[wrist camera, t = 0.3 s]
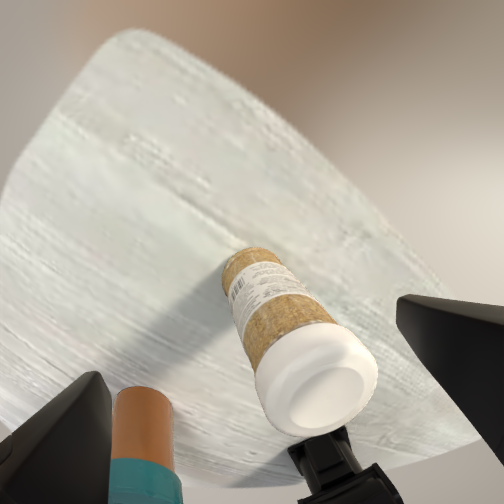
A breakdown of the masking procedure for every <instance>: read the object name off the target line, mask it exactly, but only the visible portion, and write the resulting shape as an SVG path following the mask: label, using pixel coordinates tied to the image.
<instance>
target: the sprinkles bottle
mask: <svg viewBox="0 0 504 504" xmlns="http://www.w3.org/2000/svg"><path fill="white" fill-rule="evenodd" d="M222 286H223V289H224V291H225V294H226V296H227V297H228V300H229V306H230V309H231V312H232V315H233V318H234V321H235V324H236V327H237V330H238V333H239V336H240V339H241V342H242V345H243V348H244V350H245V352H246V354H247V356H248V357H249V360H250V362H251V365H252V368H253V370H254V373H255V387H256V391H257V394H258V397H259V399H260V402H261V405H262V407H263V410H264V412H265V415H266V417H267V419H268V420H269V422H270V423H271V424H272V425H273V426H274V427H275V428H276V429H277V430H279V431H280V432H282V433H284V434H287V435H290V436H295V437H313V436H318V435H322V434H325V433H328V432H331V431H333V430H336V429H338V428H339V427H341V426H343V425H345V424H346V423H348V422H349V421H350V420H352V419H353V418H354V417H355V416H356V415H357V414H358V413H360V411H361V410H362V409H363V408H364V407H365V406H366V405H367V403H368V402H369V400H370V398H371V397H372V395H373V393H374V391H375V388H376V384H377V380H378V369H377V364H376V362H375V359H374V357H373V356H372V354H371V353H370V352H369V350H368V349H367V348H366V347H365V346H364V345H363V344H362V343H361V342H360V341H359V339H358V338H357V337H356V336H355V335H354V334H353V333H352V332H351V331H350V330H348V329H347V328H345V327H343V326H340V325H338V324H337V323H336V321H335V320H334V319H333V318H332V317H331V316H330V315H329V314H328V313H327V312H326V310H325V309H324V307H323V306H322V305H321V304H320V303H319V302H318V301H317V300H316V299H315V297H314V296H313V295H312V294H311V293H310V292H309V291H308V290H307V289H306V288H305V287H304V286H303V285H302V284H301V282H300V281H299V280H298V279H297V278H296V277H295V276H294V275H293V274H292V273H291V272H290V271H289V270H288V269H287V268H285V267H284V266H283V265H282V263H281V262H280V260H279V259H278V258H277V257H276V255H275V254H274V253H272V252H270V251H268V250H266V249H262V248H248V249H244V250H242V251H240V252H238V253H236V254H235V255H234V256H232V257H231V258H230V259H229V261H228V262H227V264H226V266H225V268H224V271H223V273H222Z"/></svg>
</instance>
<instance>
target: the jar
mask: <svg viewBox="0 0 504 504" xmlns="http://www.w3.org/2000/svg"><path fill="white" fill-rule="evenodd" d="M116 458H136V459H142V460H147V461H151V462H154V463H157V464H160V465H162V466H164V467H166V468H168V469H170V470H171V471H173V472H174V473H175V467H174V443H173V408H172V405H171V403H170V401H169V400H168V399H167V397H166V396H164V395H163V394H162V393H160V392H159V391H156V390H154V389H152V388H148V387H141V386H135V387H129V388H126V389H124V390H122V391H121V392H119V394H118V395H117V396H116V398H115V401H114V406H113V410H112V452H111V459H116Z"/></svg>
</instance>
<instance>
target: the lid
mask: <svg viewBox="0 0 504 504" xmlns="http://www.w3.org/2000/svg"><path fill="white" fill-rule="evenodd" d="M108 504H183V498H182V485H181V481H180V479H179V477H178V476H177V475H176V474H175V473H174V472H173V471H171V470H170V469H168V468H166V467H164V466H162V465H160V464H157V463H154V462H151V461H147V460H142V459H136V458H116V459H111V464H110V479H109V498H108Z"/></svg>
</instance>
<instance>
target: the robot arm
mask: <svg viewBox="0 0 504 504" xmlns="http://www.w3.org/2000/svg"><path fill="white" fill-rule="evenodd" d="M396 324H397V327H398V329H399V331H400V332H401V334H402V335H403V336H404V338H405V339H406V341H407V342H408V344H409V345H410V347H411V348H412V350H413V351H414V353H415V354H416V356H417V357H418V358H419V360H420V361H421V362H422V364H423V365H424V366H425V367H426V369H427V370H428V371H429V372H430V373H431V375H432V376H433V377H434V378H435V379H436V380H437V382H438V383H439V384H440V385H441V386H442V388H443V389H444V390H445V391H446V393H447V394H448V395H449V396H450V397H451V399H452V400H453V401H454V402H455V404H456V405H457V406H458V407H459V409H460V410H461V411H462V412H463V414H464V415H465V416H466V417H467V419H468V420H469V421H470V422H471V424H472V425H473V426H474V427H475V429H476V430H477V431H478V433H479V434H480V435H481V436H482V438H483V439H484V440H485V442H486V443H487V444H488V445H489V447H490V448H491V449H492V451H493V452H494V453H495V455H496V456H497V458H498V459H499V460H500V462H501V463H502V464H503V466H504V306H496V305H489V304H480V303H473V302H465V301H457V300H450V299H442V298H435V297H427V296H420V295H413V294H407V295H405V296H402V297H399V298H398V300H397V307H396ZM111 452H112V398H111V394H110V392H109V390H108V388H107V386H106V384H105V382H104V379H103V377H102V375H101V374H100V373H99V372H98V371H91V372H85V373H84V374H83V375H81V376H80V377H79V378H78V379H77V380H75V381H74V382H73V383H72V384H71V385H69V386H68V387H67V388H66V389H64V390H63V391H62V392H61V393H60V394H58V395H57V396H56V397H55V398H54V399H52V400H51V401H50V402H49V403H48V404H46V405H45V406H44V407H43V408H42V409H40V410H39V411H38V412H37V413H35V414H34V415H33V416H32V417H31V418H29V419H28V420H27V421H26V422H25V423H24V424H22V425H21V426H20V427H19V428H18V429H16V430H15V431H14V432H13V433H12V435H9V436H8V437H7V438H6V439H4V440H3V441H2V442H1V443H0V504H108V498H109V479H110V464H111ZM288 452H289V454H290V456H291V458H292V460H293V462H294V464H295V465H296V467H297V469H298V471H299V473H300V474H301V476H304V477H305V480H306V482H307V484H308V487H309V489H310V491H311V493H312V495H311V496H309V497H306V498H304V499H300V500H298V504H404V503H403V500H402V498H401V496H400V495H399V493H398V491H397V489H396V488H395V486H394V485H393V484H392V482H391V481H390V480H389V478H388V477H387V476H386V475H385V473H384V472H383V471H382V469H381V468H380V467H379V465H378V464H377V463H374V464H372V466H370V467H368V468H367V469H365V470H363V469H362V468H361V466H360V464H359V463H358V461H357V459H356V458H355V456H354V454H353V453H352V449H351V445H350V441H349V438H348V434H347V430H346V427H345V426H344V425H343V426H341V427H339V428H338V429H336V430H333V431H331V432H328V433H325V434H322V435H318V436H315V437H313V438H310V439H308V440H306V441H304V442H301V443H299V444H296V445H294V446H292V447H290V448H288Z"/></svg>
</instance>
